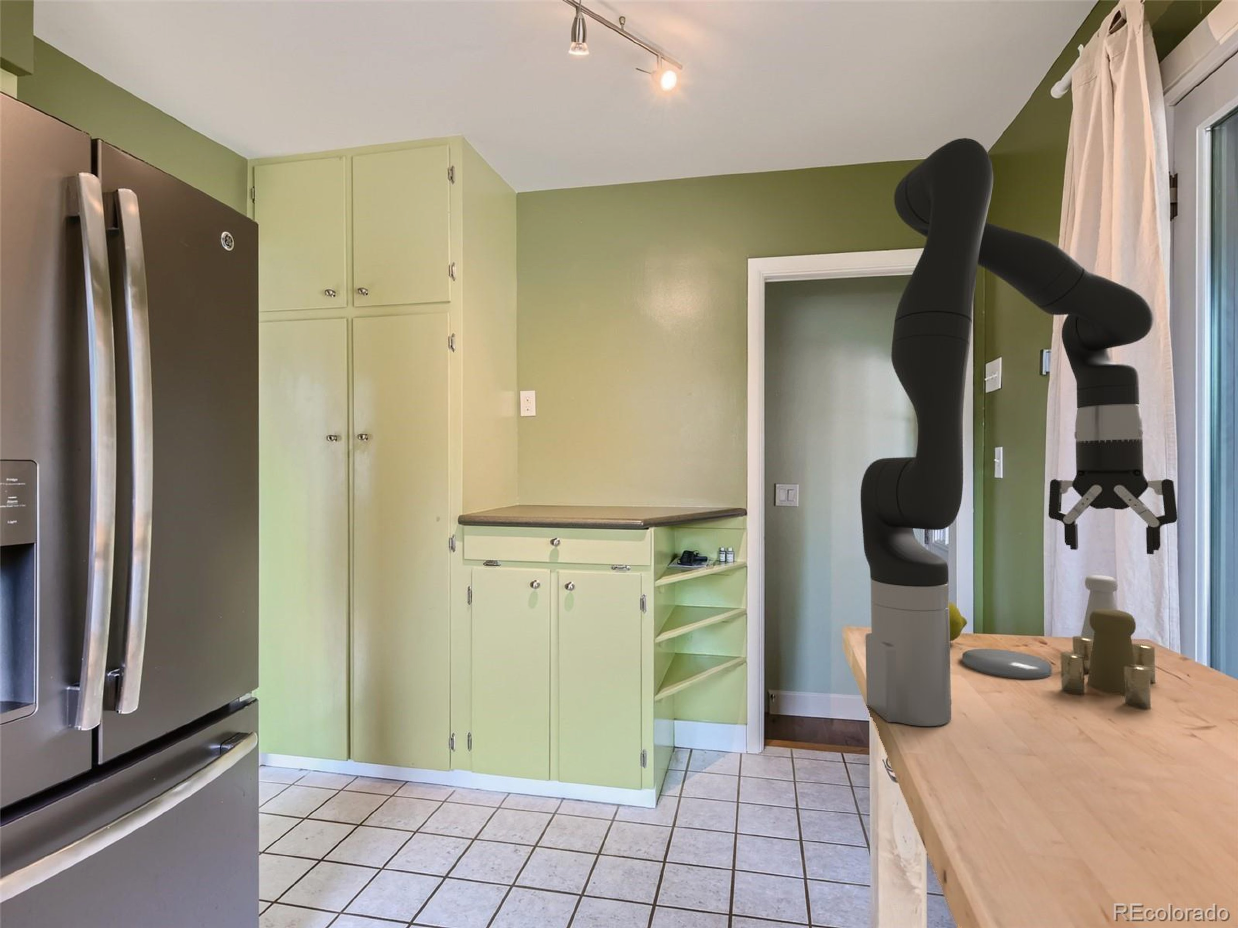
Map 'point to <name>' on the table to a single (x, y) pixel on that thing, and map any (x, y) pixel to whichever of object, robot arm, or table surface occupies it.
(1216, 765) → the table surface
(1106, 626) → the cork
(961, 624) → the lemon
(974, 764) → the table surface
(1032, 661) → the slate coaster
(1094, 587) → the salt shaker
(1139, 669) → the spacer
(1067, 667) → the cylinder
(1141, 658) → the cylinder
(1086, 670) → the cylinder
